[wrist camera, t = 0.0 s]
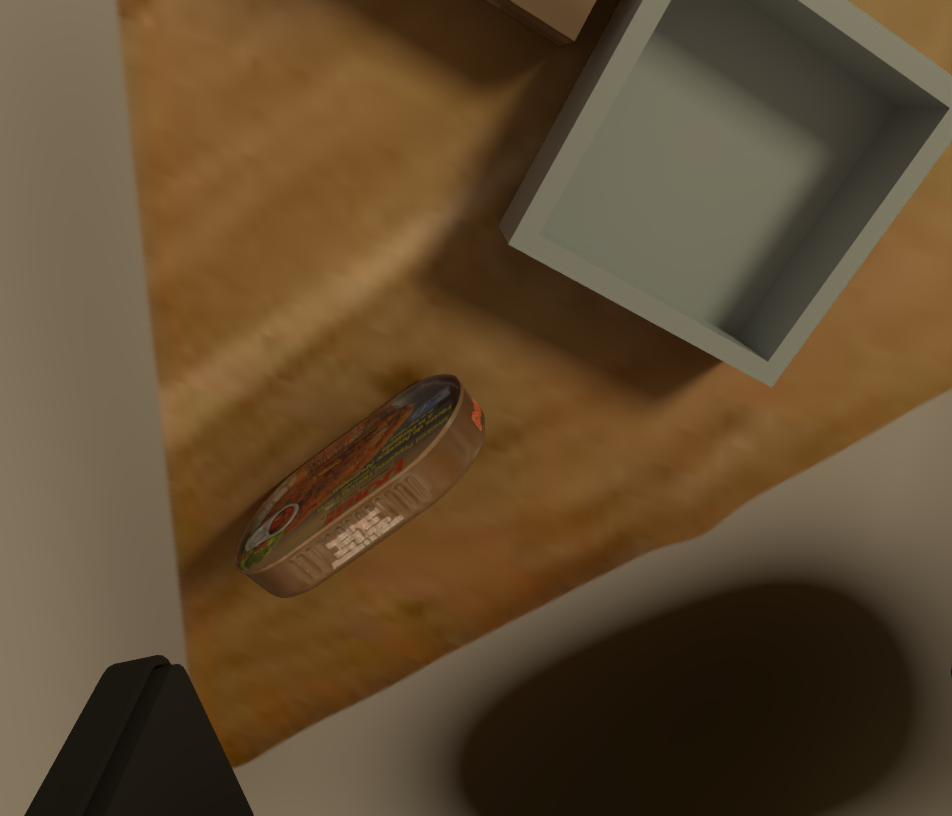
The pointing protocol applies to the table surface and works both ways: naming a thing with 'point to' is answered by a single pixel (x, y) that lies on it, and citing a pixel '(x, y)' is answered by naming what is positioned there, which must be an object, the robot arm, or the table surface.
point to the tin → (363, 487)
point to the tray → (732, 166)
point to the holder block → (549, 16)
